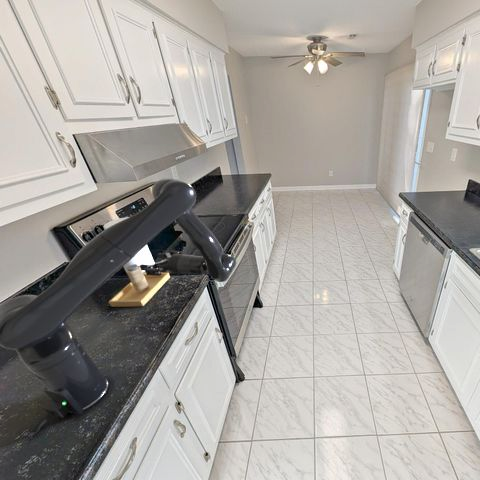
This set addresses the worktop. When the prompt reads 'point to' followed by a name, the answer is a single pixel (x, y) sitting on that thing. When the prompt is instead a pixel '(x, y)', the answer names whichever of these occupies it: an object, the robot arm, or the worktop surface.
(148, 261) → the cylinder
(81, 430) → the worktop surface
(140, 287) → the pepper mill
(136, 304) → the tray
